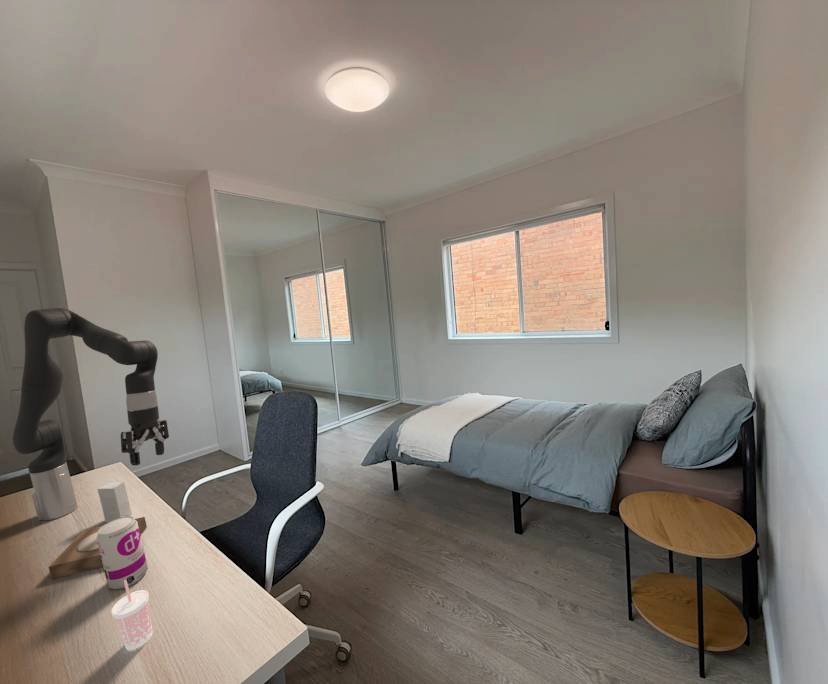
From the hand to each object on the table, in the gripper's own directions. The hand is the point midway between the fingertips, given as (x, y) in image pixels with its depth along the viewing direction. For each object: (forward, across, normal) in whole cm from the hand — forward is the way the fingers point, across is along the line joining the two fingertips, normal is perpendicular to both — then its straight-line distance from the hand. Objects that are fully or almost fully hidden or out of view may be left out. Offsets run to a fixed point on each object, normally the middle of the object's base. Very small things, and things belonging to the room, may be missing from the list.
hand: (148, 459), depth 113 cm
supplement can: (+25, +17, +8) cm, 31 cm away
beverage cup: (+27, +33, +27) cm, 50 cm away
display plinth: (+24, +8, -10) cm, 27 cm away
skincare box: (+22, -7, -21) cm, 31 cm away
